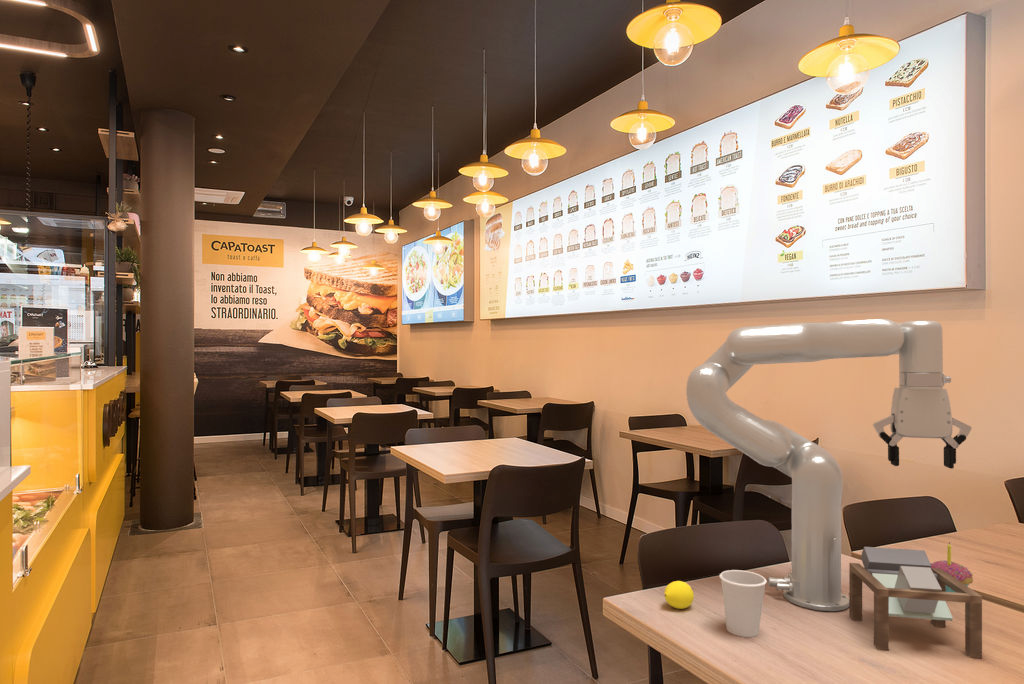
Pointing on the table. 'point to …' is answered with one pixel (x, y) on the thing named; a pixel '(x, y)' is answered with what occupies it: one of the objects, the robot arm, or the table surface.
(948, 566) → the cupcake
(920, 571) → the stone
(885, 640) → the stand
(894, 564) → the trapdoor
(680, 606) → the lemon
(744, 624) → the dixie cup
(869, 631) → the table surface
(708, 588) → the table surface
